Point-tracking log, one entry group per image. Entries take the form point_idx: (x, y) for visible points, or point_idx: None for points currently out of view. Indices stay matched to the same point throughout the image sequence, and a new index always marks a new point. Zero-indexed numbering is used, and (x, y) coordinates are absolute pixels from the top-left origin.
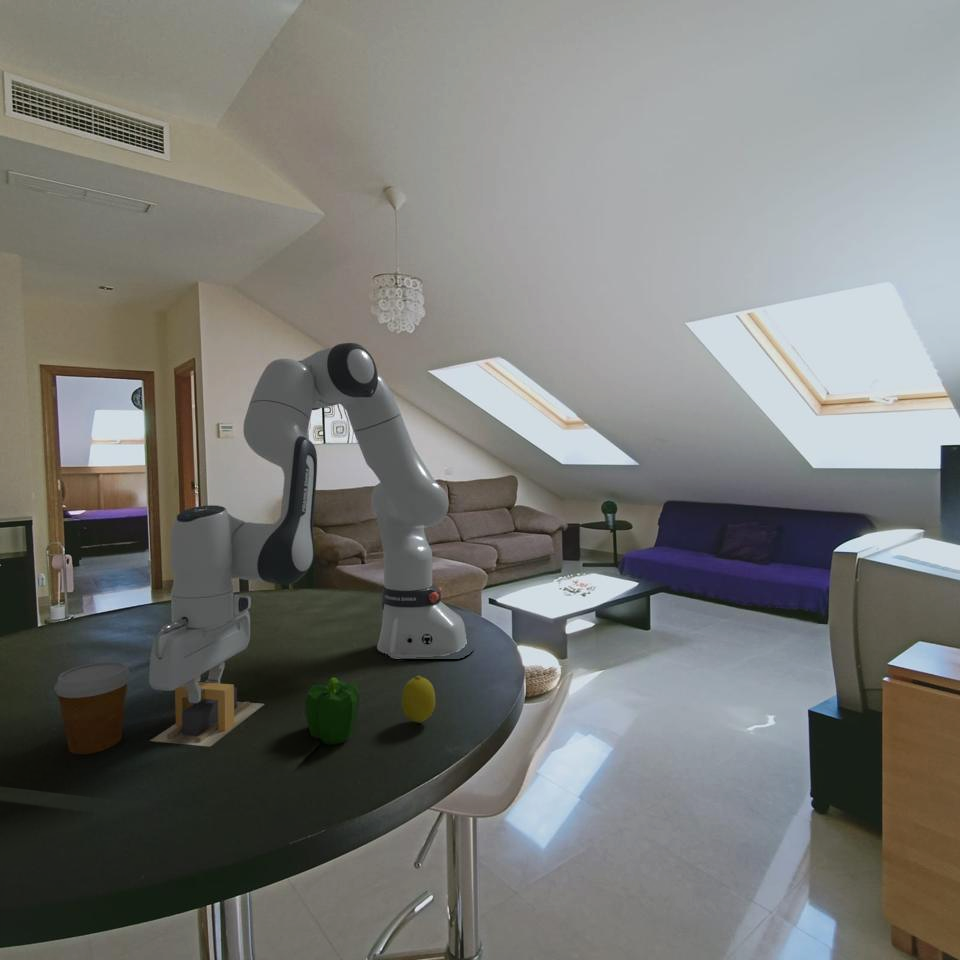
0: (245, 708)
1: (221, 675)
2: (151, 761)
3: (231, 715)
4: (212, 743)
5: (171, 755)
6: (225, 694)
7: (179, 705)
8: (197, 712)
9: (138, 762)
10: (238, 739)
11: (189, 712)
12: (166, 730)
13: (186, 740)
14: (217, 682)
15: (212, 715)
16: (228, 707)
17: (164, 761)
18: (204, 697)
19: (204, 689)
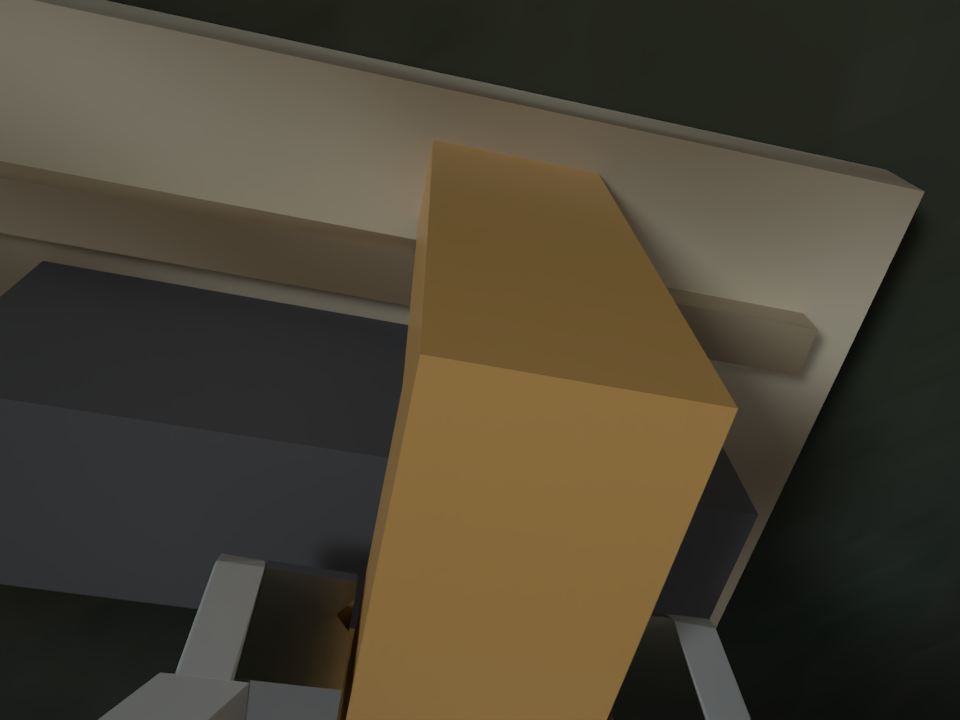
0: (21, 164)
1: (118, 709)
2: (875, 537)
3: (490, 184)
4: (863, 193)
5: (816, 456)
6: (687, 358)
7: None
8: (732, 532)
9: (866, 599)
10: (612, 5)
11: (715, 604)
12: None
13: (746, 438)
14: (268, 653)
15: None
16: (566, 241)
17: (900, 462)
18: None
19: (613, 709)
